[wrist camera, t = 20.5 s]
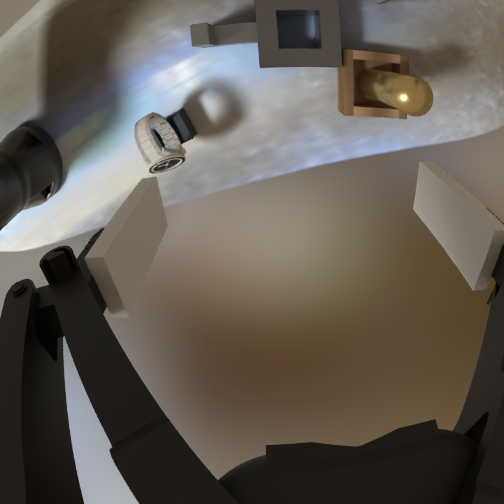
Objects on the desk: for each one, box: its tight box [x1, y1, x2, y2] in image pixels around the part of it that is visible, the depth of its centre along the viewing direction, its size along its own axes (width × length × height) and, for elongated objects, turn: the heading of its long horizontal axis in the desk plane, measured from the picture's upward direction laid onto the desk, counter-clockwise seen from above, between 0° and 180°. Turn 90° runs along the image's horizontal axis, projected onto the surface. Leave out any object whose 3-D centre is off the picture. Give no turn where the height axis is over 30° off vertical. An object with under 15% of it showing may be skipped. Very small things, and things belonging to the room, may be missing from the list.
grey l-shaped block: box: [190, 22, 278, 48], centre depth 32 cm, size 10×3×7 cm, turn 94°
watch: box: [134, 108, 197, 173], centre depth 39 cm, size 6×8×11 cm
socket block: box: [254, 0, 342, 68], centre depth 33 cm, size 10×10×5 cm
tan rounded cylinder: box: [357, 69, 433, 116], centre depth 31 cm, size 4×4×15 cm
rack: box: [337, 49, 409, 119], centre depth 36 cm, size 9×9×4 cm
